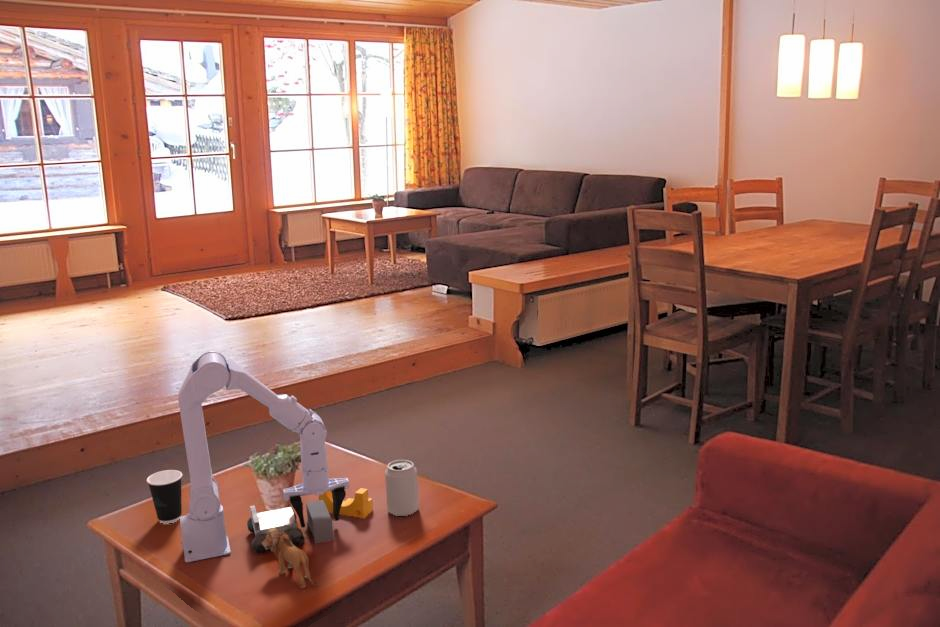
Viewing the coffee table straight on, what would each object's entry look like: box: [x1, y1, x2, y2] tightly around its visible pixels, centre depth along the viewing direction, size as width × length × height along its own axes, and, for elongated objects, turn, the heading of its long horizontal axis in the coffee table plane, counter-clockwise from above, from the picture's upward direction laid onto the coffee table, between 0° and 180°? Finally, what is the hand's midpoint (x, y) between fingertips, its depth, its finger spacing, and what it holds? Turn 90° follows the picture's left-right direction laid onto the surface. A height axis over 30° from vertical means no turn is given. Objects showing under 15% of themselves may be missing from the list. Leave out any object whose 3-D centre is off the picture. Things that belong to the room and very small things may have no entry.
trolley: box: [246, 504, 305, 555], centre depth 190 cm, size 11×11×7 cm
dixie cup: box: [146, 469, 183, 525], centre depth 200 cm, size 8×8×11 cm
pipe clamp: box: [318, 487, 374, 519], centre depth 202 cm, size 12×4×6 cm, turn 68°
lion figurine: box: [262, 528, 319, 589], centre depth 174 cm, size 15×5×9 cm, turn 52°
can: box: [384, 459, 420, 517], centre depth 200 cm, size 8×8×12 cm
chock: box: [305, 499, 334, 544], centre depth 193 cm, size 4×11×5 cm, turn 19°
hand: (319, 522), depth 194 cm, fingers open, 7 cm apart
